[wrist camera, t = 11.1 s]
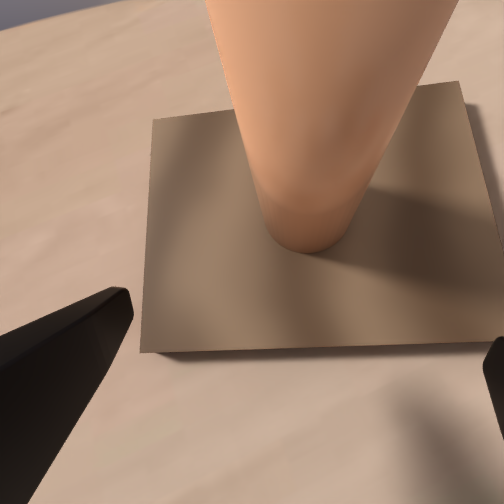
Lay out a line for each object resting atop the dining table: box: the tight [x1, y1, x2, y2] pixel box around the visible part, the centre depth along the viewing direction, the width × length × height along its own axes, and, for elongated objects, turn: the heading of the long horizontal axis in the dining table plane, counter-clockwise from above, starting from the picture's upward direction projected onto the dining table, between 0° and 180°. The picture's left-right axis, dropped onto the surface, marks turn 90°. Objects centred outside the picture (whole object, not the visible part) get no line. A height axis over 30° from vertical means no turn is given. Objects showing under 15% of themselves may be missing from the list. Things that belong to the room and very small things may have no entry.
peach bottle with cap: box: [205, 0, 459, 253], centre depth 10 cm, size 5×5×14 cm
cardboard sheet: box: [140, 81, 504, 353], centre depth 17 cm, size 18×14×2 cm
